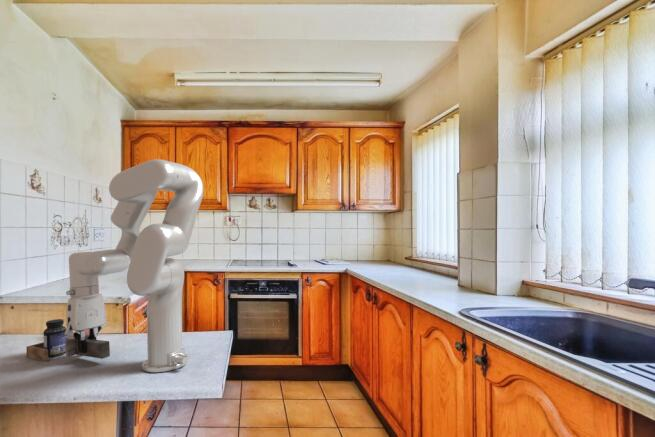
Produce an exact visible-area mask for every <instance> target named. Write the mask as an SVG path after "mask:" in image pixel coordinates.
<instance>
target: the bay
mask: <svg viewBox="0 0 655 437" xmlns="http://www.w3.org/2000/svg"><path fill="white" fill-rule="evenodd" d="M66 338H67V340H69V339H73V338H74V337H70V336H66ZM26 359H32V360H34V361H35V360H36V361H38V362H44V363H46V362H49V357H48V349H44V341H42V342H39V343H35V344H32V345H28V346H26Z"/></svg>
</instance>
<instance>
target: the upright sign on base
mask: <svg viewBox="0 0 655 437" xmlns="http://www.w3.org/2000/svg"><path fill="white" fill-rule="evenodd" d="M88 336H89V334H87V335H85V340H87V353H80V352H79V350H78V340H76V339H75V338H74V337H72V338H73V339H69V340H65V347H66V353H65V357H66V358H70V357H72V356H82V357H88V358H94V359H100V360H101V359H102V360H103V359H106V358H108V357H110V356H111V355H110V354H111V351H110V349H111V348H110V341H109V340H104V339H103V340H102V339H96V340H92V339H87V338H88Z"/></svg>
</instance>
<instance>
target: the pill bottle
mask: <svg viewBox="0 0 655 437" xmlns="http://www.w3.org/2000/svg"><path fill="white" fill-rule="evenodd" d="M63 325H64V319H63V318H56V319H51V320H47V321H46V322H45V326H46V328H45V329H44V330H43V342H44V349H48V358H54V357H60V356H63V355H66V347H65V340H67V338H66V337H67V336H66V335H65V332H66V329H67V326H63Z"/></svg>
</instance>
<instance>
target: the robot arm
mask: <svg viewBox="0 0 655 437" xmlns="http://www.w3.org/2000/svg"><path fill="white" fill-rule="evenodd" d="M109 182H110V183H109V186H108V192H109V195H110V196H111V197H112V198H113V199H114V200H115V201H117V204H116V205H115V208H114V210H113V212H112V213H111V215H110V221H111V223H112V224H113V225H114V226H116V227H117V228H118V229H120V230H121V236H120V239H119V241H118V243H117V245H116V247H115V248H113V249H104V250H95V251H80V252H74V253H71V254H70V255H69V256H68V272H69V273H68V275H69V290H67V291H66V293H65V295H66V296H69V298H68V300H67V306H66V311H65V312H66V314H65V316H66V317H65V319H66V320H65V325H66V326H65V327H66V332H65V335H66V337H71V338H75V339H76V340H78V350H79V352H80V353H87V340H85V330H87V329H89V336H88V338H87V339H92V340H97V337H98V336H99V333H100V332H101V330H102V329H104V328H105V327H106V326H107V312H106V311H107V310H106V305H105V300H104V297H103V294H102V293H100V287H99V286H100V284H99V276H100V277H101V276H105V275H106V276H107V275H111V274H117V273H121V272H124V271H126V270H127V273H126V284H127V286H128V289H129V291H130V292H131V293H133V295H136V296H139V297H146V296H148V299H147V304H146V330H147V332H146V334H147V336H146V337H147V338H146V340H147V344H146V345H147V359H146V360H144V361H143V362H142V364H141V369H142V370H143V371H145V372H147V373H162V372H163V373H164V372H170V371H173V370H177V369H180V368H183V367H184V366H185V365H187V364H188V362H189V360H190V359H191V354H186V352H185V350H186V349H185V348H184V347H183V318H182V317H183V316H182V315H183V314H182V313H183V312H182V310H183V308H182V306H183V304H182V303H183V301H182V300H183V298H182V297H183V287H184V284H185V283H184V282H185V269H184V267H183V265H182V263H181V262H180V261H179V260H177V259H174V258H172V257H173V256H177V255H181V254H183V253H184V252H186V250H187V249H188V248H189V244H190V241H191V237H192V233H193V231H194V227H195V224H196V219H197V215H198V211H199V210H200V206H201V203H202V201H203V197H204V184H203V181H202V178H201V177H200V175H199V174H198V173H197V171H195V170H194V169H192V168H191V167H189V166H187V165H184V164H181V163H178V162H173V161H169V160H167V159H161V158H159V159H156V158H154V159H151V160H147V161H144V162H142V163H139V164H137V165H134V166H132V167H129V168H127V169H124V170H122V171H120V172H118V173H117V174H115V175H114V177H113V176H112V179H111V180H110V181H109ZM159 191H163V192H164V191H165V192H172V193H174V197H172V199H171V200H170V202H169V203H168V205H167V207H166V210H165V215H164V217H163V220H162V222H161V223H152V224H149V225H147V226H146V227H144V228H143V229H142V230H141V232H140V228H141V226H142V223H143V222H144V220H145V218H146V216H147V214H148V212H149V210H150V208H151V207H152V204H153V202H154V201H155V200H156V196H157V194H158V192H159ZM74 331H75V332H74Z"/></svg>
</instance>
